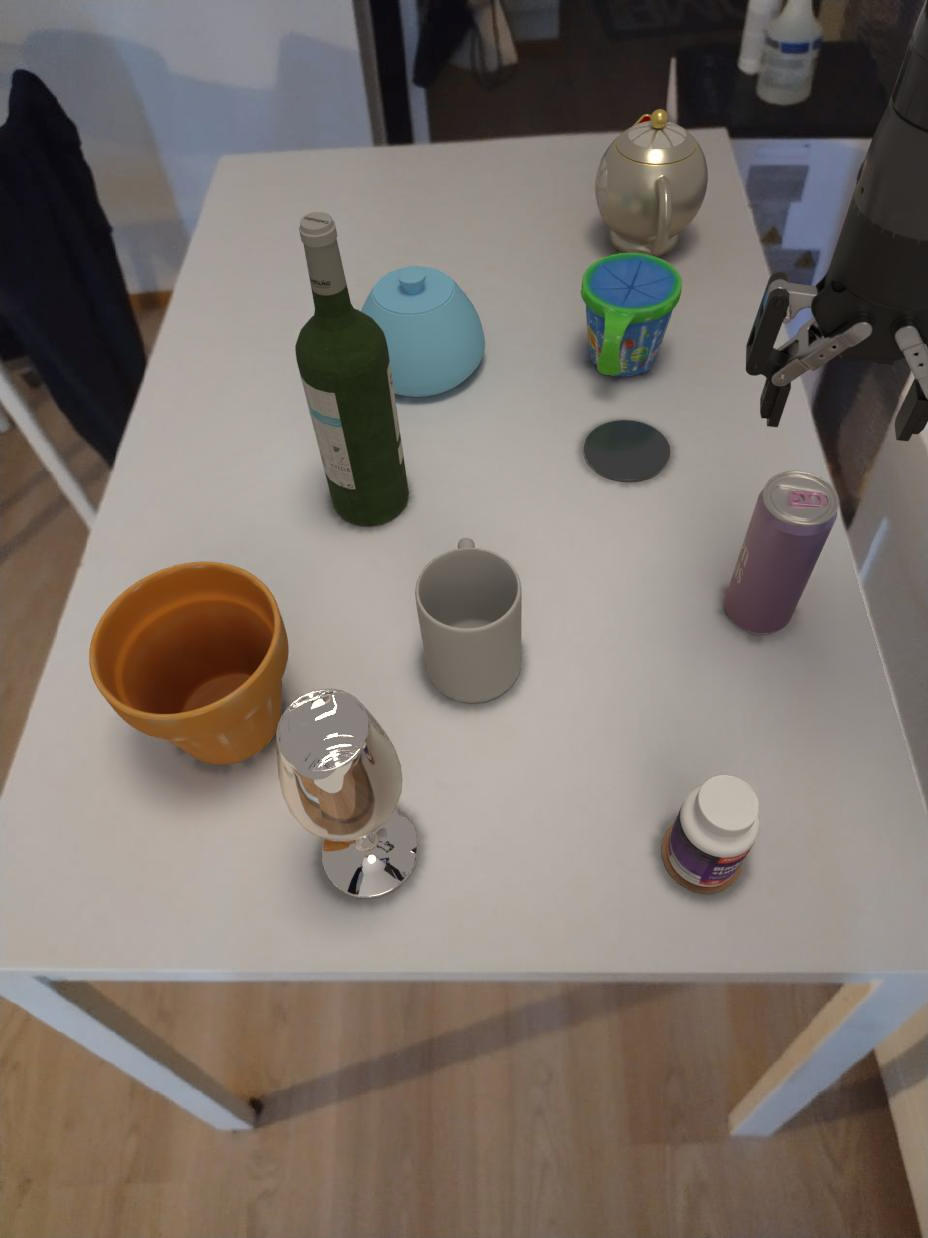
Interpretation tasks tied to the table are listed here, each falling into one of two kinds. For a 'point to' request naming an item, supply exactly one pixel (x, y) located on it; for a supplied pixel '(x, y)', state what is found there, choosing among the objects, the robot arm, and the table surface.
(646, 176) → the teapot
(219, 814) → the table surface
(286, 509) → the table surface
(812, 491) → the beverage can
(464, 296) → the sugar bowl
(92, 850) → the table surface
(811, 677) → the table surface
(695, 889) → the cork coaster
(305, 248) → the wine bottle
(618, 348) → the sippy cup
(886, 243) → the robot arm
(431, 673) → the mug
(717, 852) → the pill bottle
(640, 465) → the slate coaster
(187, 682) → the flower pot
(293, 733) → the wineglass
